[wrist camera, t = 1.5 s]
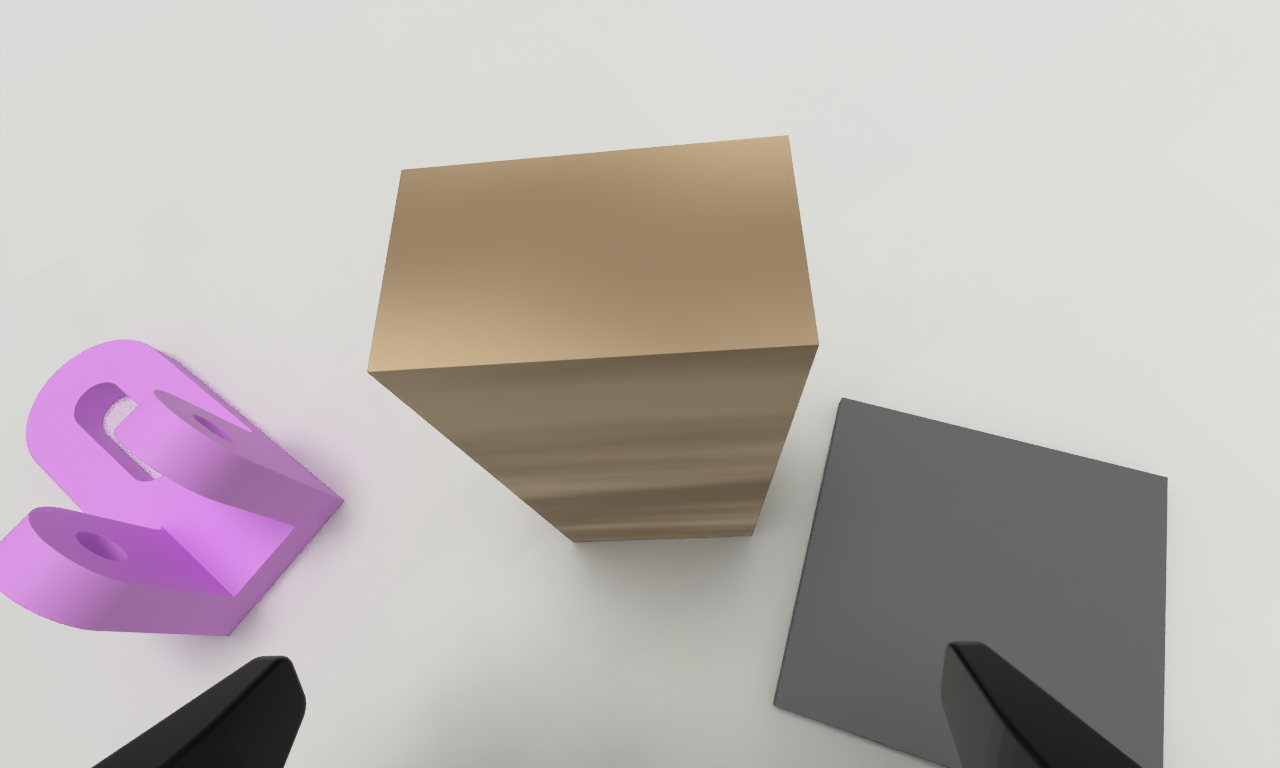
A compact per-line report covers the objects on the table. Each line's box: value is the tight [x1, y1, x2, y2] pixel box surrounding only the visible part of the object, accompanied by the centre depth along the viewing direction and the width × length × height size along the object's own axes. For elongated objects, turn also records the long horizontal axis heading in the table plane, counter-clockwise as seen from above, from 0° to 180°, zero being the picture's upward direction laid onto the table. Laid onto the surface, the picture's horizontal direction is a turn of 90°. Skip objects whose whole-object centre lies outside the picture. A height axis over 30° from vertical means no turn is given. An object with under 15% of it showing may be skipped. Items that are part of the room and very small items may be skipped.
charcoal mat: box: [773, 398, 1168, 768], centre depth 19 cm, size 10×10×1 cm
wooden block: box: [367, 135, 819, 542], centre depth 15 cm, size 4×6×14 cm, turn 90°
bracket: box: [0, 340, 344, 636], centre depth 21 cm, size 13×6×7 cm, turn 54°
